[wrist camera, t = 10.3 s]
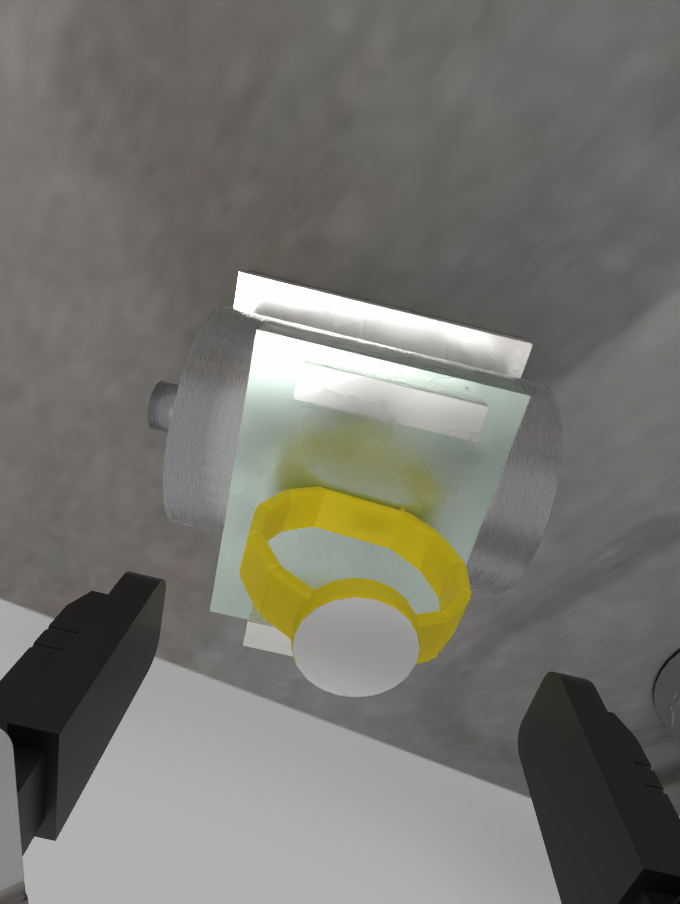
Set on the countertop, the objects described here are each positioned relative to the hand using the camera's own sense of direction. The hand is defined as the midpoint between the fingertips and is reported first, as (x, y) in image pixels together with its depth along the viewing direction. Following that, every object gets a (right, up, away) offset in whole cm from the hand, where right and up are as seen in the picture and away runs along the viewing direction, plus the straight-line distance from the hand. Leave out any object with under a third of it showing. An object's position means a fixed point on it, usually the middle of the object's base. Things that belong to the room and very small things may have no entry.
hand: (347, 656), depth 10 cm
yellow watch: (0, +2, +6) cm, 6 cm away
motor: (+1, +6, +16) cm, 18 cm away
